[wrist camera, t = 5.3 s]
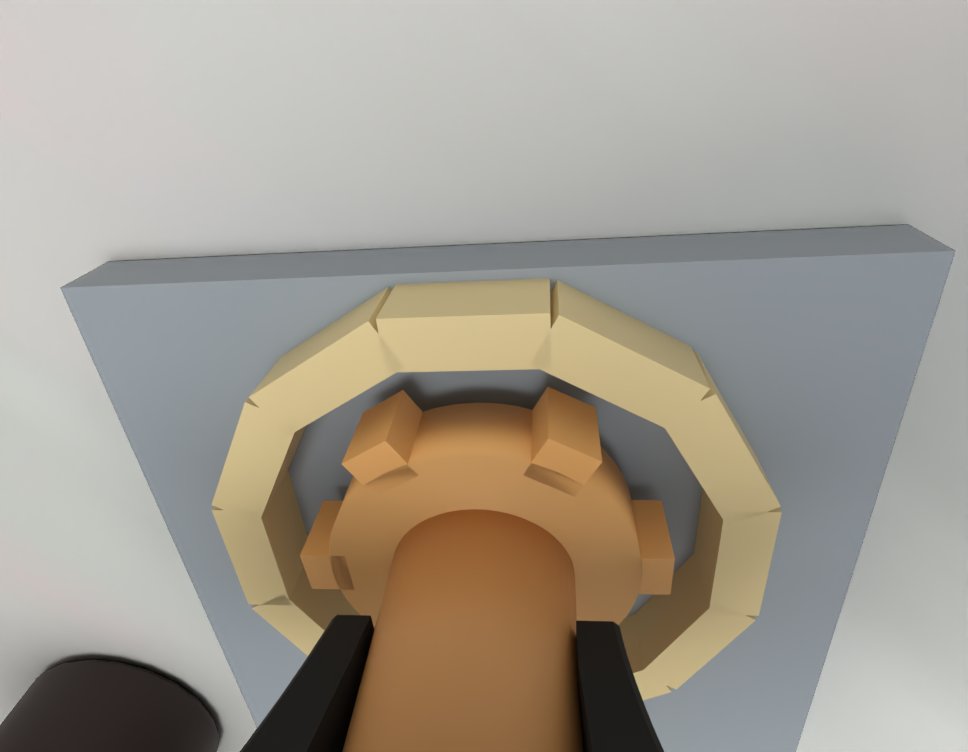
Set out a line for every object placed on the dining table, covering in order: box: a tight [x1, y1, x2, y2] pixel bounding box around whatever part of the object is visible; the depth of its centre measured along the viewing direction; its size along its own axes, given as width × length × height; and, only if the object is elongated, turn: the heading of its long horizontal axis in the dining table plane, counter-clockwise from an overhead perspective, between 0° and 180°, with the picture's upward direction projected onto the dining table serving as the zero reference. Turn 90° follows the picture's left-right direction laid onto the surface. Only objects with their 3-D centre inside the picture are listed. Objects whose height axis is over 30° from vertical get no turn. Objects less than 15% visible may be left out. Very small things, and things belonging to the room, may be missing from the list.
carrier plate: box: [61, 225, 955, 752], centre depth 15 cm, size 16×19×4 cm
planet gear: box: [300, 387, 675, 752], centre depth 10 cm, size 7×7×6 cm
